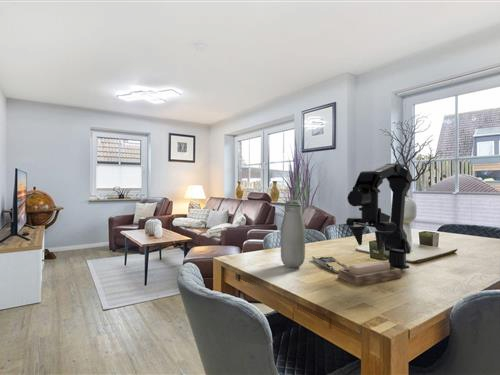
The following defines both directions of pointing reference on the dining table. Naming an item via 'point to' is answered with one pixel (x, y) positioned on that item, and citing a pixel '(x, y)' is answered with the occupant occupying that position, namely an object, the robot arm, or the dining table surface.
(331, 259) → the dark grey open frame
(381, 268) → the pale pink bar
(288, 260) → the grey vase
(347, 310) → the dining table surface
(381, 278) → the brown wooden tray
